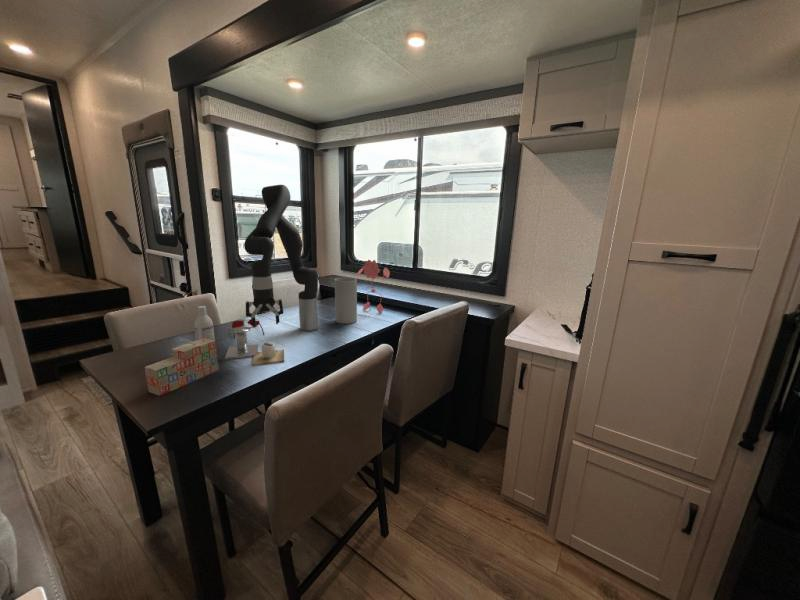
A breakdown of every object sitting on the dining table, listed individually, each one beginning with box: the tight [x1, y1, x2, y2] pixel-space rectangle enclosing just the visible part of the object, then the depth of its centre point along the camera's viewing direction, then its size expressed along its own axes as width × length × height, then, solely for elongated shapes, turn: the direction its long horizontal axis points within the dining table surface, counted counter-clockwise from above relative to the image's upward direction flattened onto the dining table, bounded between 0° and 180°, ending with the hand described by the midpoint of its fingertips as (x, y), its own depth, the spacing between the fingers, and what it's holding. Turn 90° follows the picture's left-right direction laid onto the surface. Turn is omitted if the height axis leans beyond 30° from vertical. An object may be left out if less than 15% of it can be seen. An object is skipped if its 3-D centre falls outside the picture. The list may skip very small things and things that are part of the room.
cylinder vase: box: [334, 277, 358, 325], centre depth 184 cm, size 12×12×25 cm
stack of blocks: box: [144, 338, 219, 397], centre depth 112 cm, size 21×6×12 cm, turn 157°
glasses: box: [231, 318, 265, 340], centre depth 163 cm, size 14×16×5 cm
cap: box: [261, 342, 278, 359], centre depth 133 cm, size 5×7×6 cm
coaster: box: [251, 348, 285, 366], centre depth 133 cm, size 12×12×1 cm
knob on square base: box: [224, 326, 259, 361], centre depth 136 cm, size 12×12×11 cm
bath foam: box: [193, 305, 216, 341], centre depth 137 cm, size 7×7×20 cm
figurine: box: [355, 259, 391, 318], centre depth 199 cm, size 15×26×35 cm, turn 61°
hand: (266, 324), depth 132 cm, fingers open, 8 cm apart
